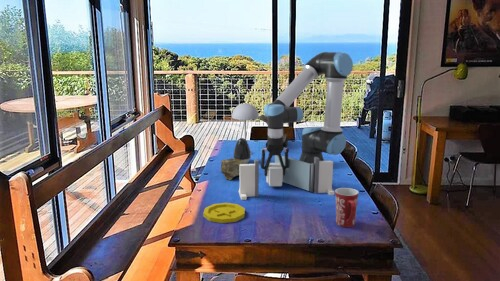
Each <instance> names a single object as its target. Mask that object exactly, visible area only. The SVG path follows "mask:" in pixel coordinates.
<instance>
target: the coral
mask: <svg viewBox="0 0 500 281" xmlns="http://www.w3.org/2000/svg"><path fill="white" fill-rule="evenodd" d="M258 119H259V120H260V121H262V122H264V123H265V124H267V125H268V117H266V116H265V114H261V115H260V116H259V118H258ZM282 137H283V147H284V148H288V144H289V137H287V134H286V133H284V132H283V136H282ZM267 145H268V140H267V141H266V143H265V148H266V147H267Z"/></svg>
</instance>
